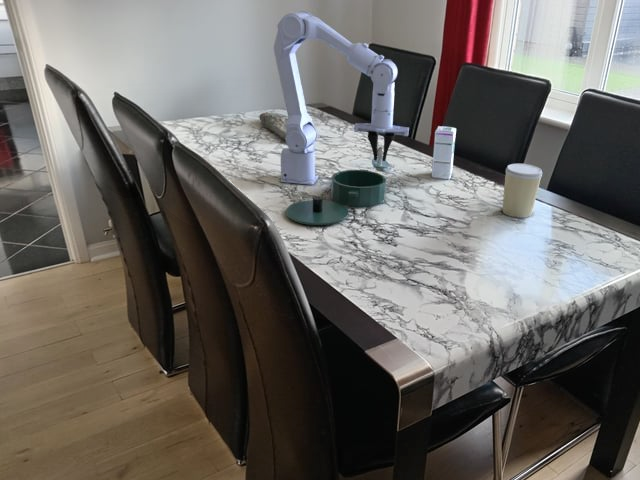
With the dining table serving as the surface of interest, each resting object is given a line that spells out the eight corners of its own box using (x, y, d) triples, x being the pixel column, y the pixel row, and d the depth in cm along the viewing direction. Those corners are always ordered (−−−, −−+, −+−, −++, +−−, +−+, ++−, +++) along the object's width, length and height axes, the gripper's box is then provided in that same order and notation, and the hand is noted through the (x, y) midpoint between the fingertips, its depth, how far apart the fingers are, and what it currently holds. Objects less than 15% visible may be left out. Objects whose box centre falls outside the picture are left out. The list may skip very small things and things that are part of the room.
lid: (278, 224, 139) (278, 206, 137) (295, 201, 152) (294, 184, 150) (342, 230, 138) (342, 212, 135) (353, 206, 151) (353, 190, 149)
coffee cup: (536, 209, 157) (544, 166, 151) (532, 221, 149) (541, 176, 143) (502, 203, 159) (509, 161, 153) (496, 215, 152) (503, 170, 146)
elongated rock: (284, 149, 198) (311, 148, 202) (285, 133, 195) (312, 133, 200) (253, 119, 223) (278, 119, 228) (253, 105, 220) (278, 105, 225)
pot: (324, 208, 149) (324, 188, 147) (338, 183, 167) (339, 165, 164) (380, 213, 148) (381, 193, 146) (388, 187, 166) (389, 169, 163)
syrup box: (449, 179, 175) (455, 131, 167) (430, 177, 175) (435, 129, 168) (451, 174, 180) (457, 127, 172) (433, 172, 180) (437, 125, 173)
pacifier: (390, 166, 164) (370, 164, 163) (394, 145, 161) (373, 142, 159) (394, 176, 158) (373, 173, 156) (399, 153, 154) (377, 151, 153)
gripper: (353, 110, 150) (351, 161, 156) (408, 115, 149) (404, 166, 155) (357, 104, 156) (355, 154, 162) (410, 109, 155) (406, 158, 161)
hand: (379, 159), depth 159 cm, fingers closed on pacifier
